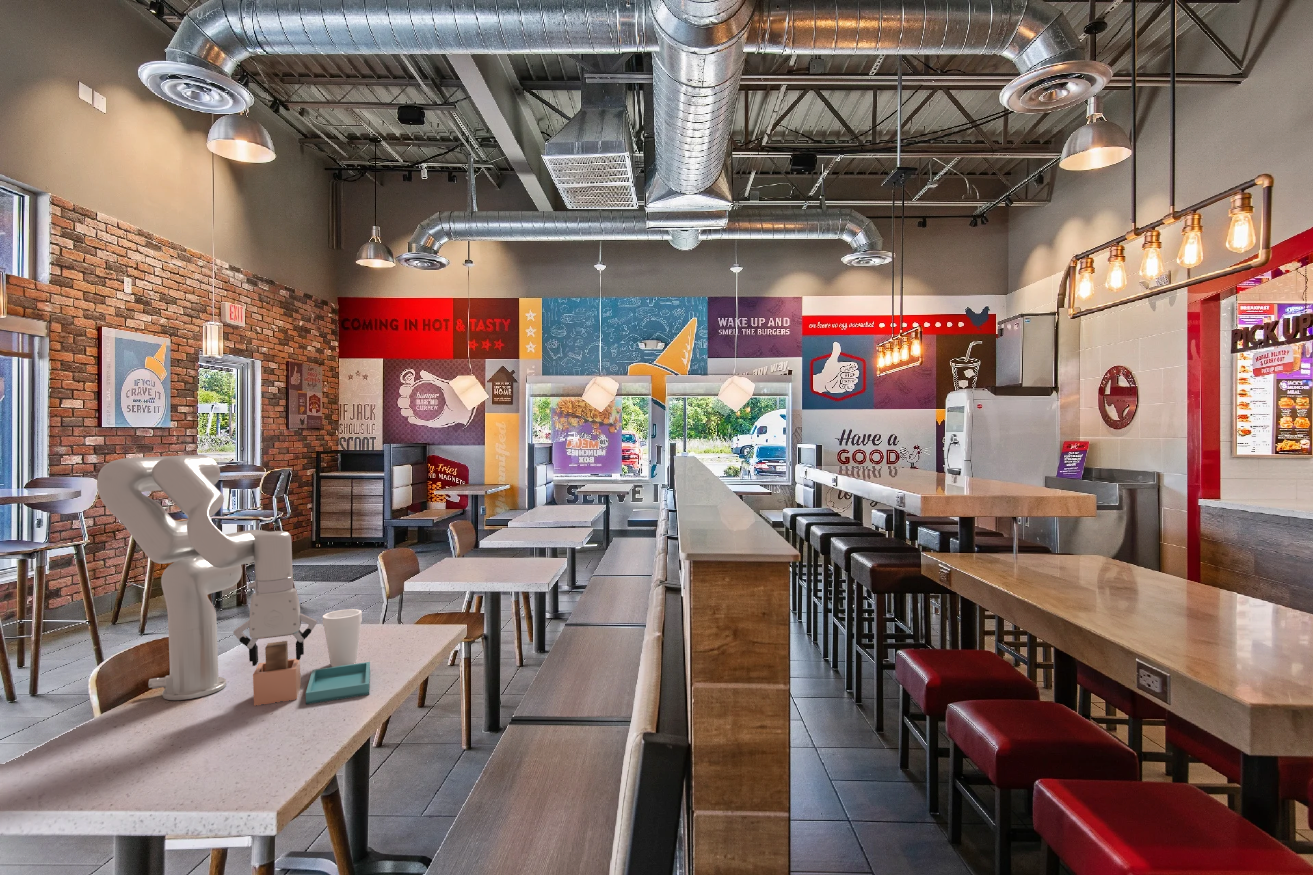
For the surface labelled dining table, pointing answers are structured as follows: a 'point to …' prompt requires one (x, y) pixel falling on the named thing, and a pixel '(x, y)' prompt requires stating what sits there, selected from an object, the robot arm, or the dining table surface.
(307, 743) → the dining table surface
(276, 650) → the walnut stick
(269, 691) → the holder cup
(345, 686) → the tray
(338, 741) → the dining table surface
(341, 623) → the foam cup
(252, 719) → the dining table surface
